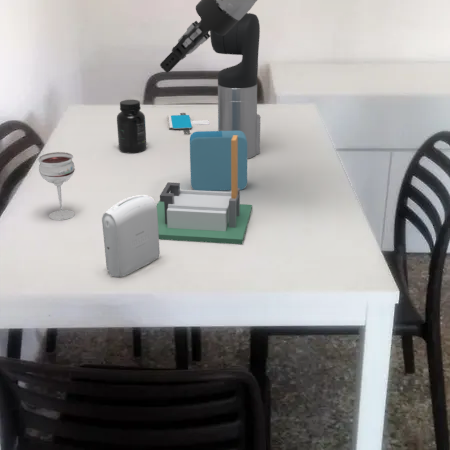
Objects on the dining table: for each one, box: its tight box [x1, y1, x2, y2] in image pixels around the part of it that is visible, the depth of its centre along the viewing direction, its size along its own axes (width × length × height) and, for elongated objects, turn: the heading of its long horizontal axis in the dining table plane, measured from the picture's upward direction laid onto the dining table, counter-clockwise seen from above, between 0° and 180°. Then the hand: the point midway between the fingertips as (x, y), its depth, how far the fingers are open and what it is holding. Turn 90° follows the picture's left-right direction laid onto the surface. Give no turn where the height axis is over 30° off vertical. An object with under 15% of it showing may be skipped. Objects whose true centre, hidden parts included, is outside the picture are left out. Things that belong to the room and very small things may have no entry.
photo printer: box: [101, 194, 161, 278], centre depth 122 cm, size 10×4×12 cm, turn 140°
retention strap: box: [230, 135, 239, 203], centre depth 134 cm, size 1×3×13 cm, turn 171°
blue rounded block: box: [189, 130, 248, 192], centre depth 154 cm, size 12×4×12 cm, turn 93°
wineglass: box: [37, 151, 76, 221], centre depth 141 cm, size 7×7×12 cm
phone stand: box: [166, 112, 211, 135], centre depth 200 cm, size 20×12×2 cm, turn 6°
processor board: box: [156, 182, 253, 245], centre depth 139 cm, size 19×16×7 cm
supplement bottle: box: [116, 99, 147, 154], centre depth 178 cm, size 7×7×12 cm
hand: (164, 68), depth 140 cm, fingers closed
